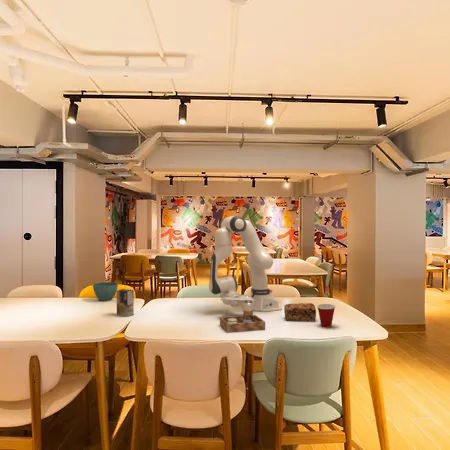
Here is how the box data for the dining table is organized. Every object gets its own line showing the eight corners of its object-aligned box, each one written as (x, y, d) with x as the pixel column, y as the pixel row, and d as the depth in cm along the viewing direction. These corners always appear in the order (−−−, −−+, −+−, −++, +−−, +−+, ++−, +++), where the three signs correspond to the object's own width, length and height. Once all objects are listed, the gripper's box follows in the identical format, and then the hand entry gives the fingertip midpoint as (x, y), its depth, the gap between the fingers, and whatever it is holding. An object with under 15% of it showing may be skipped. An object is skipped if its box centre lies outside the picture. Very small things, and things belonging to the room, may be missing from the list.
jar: (235, 327, 216) (235, 317, 216) (237, 330, 211) (238, 320, 211) (226, 328, 215) (226, 318, 215) (229, 330, 210) (229, 320, 210)
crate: (255, 322, 227) (255, 314, 227) (265, 329, 212) (265, 321, 212) (219, 324, 221) (219, 317, 221) (227, 332, 206) (227, 324, 206)
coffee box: (134, 314, 244) (134, 289, 244) (127, 317, 239) (127, 291, 238) (122, 313, 248) (122, 288, 248) (116, 315, 242) (116, 290, 242)
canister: (251, 324, 222) (251, 299, 222) (254, 327, 217) (254, 301, 217) (241, 325, 221) (242, 300, 220) (245, 327, 215) (245, 301, 215)
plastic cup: (312, 324, 223) (312, 304, 223) (327, 322, 227) (327, 302, 227) (324, 329, 213) (324, 308, 213) (339, 327, 217) (339, 306, 217)
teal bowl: (113, 302, 280) (113, 286, 280) (89, 302, 280) (89, 286, 280) (120, 297, 298) (120, 282, 298) (97, 297, 299) (97, 282, 298)
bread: (313, 317, 239) (313, 302, 239) (316, 322, 228) (316, 305, 228) (284, 317, 241) (284, 301, 241) (285, 321, 230) (285, 305, 230)
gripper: (220, 293, 239) (228, 298, 226) (248, 295, 247) (258, 299, 234) (218, 303, 239) (227, 308, 226) (247, 304, 247) (257, 309, 234)
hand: (243, 303), depth 230 cm, fingers open, 8 cm apart
